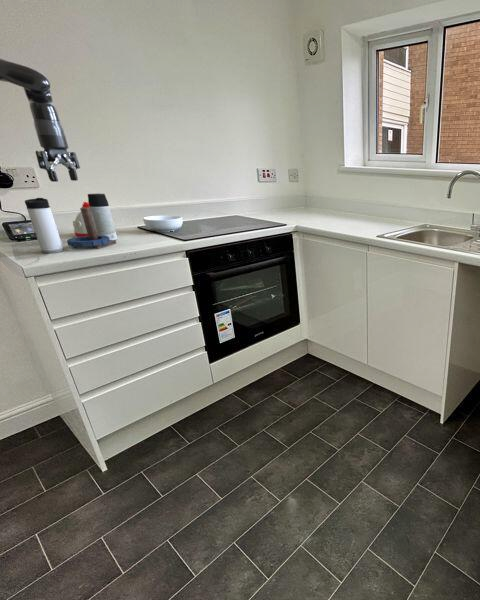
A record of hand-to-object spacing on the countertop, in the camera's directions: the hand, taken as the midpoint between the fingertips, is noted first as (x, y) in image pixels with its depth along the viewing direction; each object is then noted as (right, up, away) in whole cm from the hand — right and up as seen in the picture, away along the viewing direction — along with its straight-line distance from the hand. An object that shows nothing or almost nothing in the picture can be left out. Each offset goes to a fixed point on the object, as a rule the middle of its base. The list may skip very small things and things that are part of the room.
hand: (64, 181), depth 133 cm
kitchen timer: (-19, -14, +35) cm, 42 cm away
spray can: (-4, -18, +25) cm, 31 cm away
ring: (-1, -22, +11) cm, 25 cm away
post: (-1, -22, +15) cm, 27 cm away
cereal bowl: (+7, -10, +47) cm, 49 cm away
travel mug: (-8, -27, +4) cm, 28 cm away
